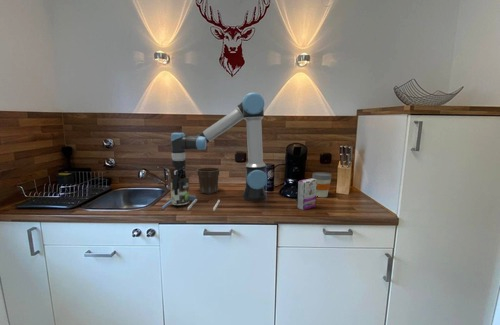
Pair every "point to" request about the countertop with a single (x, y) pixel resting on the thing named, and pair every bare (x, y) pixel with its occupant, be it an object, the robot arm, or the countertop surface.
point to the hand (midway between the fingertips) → (180, 197)
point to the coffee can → (181, 192)
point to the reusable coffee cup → (322, 183)
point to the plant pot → (208, 180)
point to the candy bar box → (307, 193)
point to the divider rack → (192, 203)
